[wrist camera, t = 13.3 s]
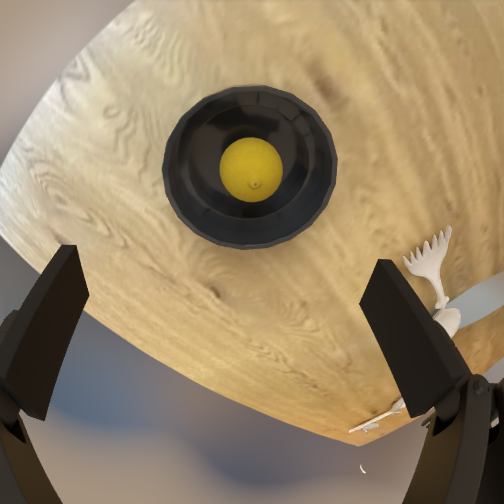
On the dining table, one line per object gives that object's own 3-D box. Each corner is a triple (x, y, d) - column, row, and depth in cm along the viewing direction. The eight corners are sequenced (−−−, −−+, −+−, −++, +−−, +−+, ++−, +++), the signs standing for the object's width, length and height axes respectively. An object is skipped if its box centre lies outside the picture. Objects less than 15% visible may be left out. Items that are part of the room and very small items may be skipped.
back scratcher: (440, 213, 34) (453, 225, 31) (457, 322, 50) (465, 332, 47) (392, 247, 37) (403, 261, 34) (425, 344, 52) (432, 355, 50)
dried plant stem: (355, 429, 78) (461, 370, 66) (365, 476, 61) (484, 414, 49) (340, 419, 74) (457, 353, 62) (349, 471, 58) (483, 402, 45)
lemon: (220, 182, 30) (219, 216, 23) (220, 130, 26) (218, 148, 20) (273, 182, 30) (287, 216, 23) (276, 131, 27) (294, 150, 20)
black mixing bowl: (145, 151, 27) (128, 168, 22) (259, 56, 23) (268, 49, 18) (237, 243, 34) (239, 275, 29) (342, 168, 30) (364, 188, 25)
